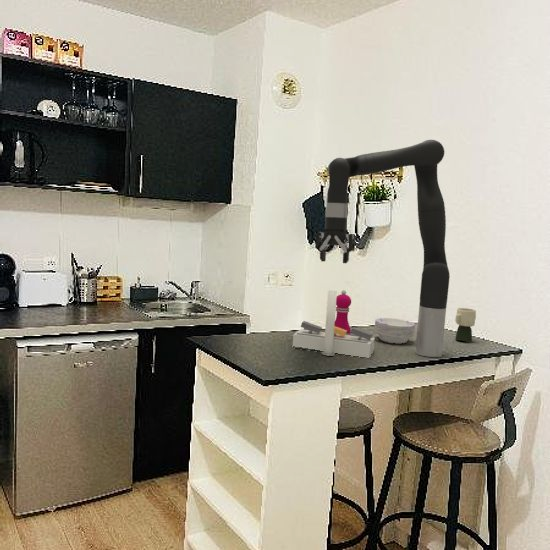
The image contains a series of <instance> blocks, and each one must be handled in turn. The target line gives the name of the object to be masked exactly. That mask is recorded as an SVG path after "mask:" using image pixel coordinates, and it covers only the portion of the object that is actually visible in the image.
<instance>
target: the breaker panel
mask: <svg viewBox="0 0 550 550" xmlns="http://www.w3.org/2000/svg"><path fill="white" fill-rule="evenodd" d="M292 335H293V337H292V347H293V346H295V347H302V348H308V349H315V350H320V351H324V341H325V330H321V332H320V333H316V332H313V331H311V330H308V329H305V328H300V329H299V330H297V331H296V332H294V333H293V334H292ZM375 340H376V338H375V337H371V339H370V340H368V339H365V338H362V337H360V336H357V335H354V334H351V333H350V334H346V335H345V336H344V337H343V336H340V335H338V334H335V333H334V339H333V353H338V354H345V355H351V356H350V357H353V356H359V357H358V358H360V357H367V358H369V357H370V358H371V356H372V355H373V353H374V352H373V351H375ZM338 354H337V355H338ZM371 354H372V355H371ZM345 355H344V356H345ZM367 358H366V359H367ZM370 358H369V359H370Z"/></svg>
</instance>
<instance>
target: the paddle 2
mask: <svg viewBox="0 0 550 550" xmlns="http://www.w3.org/2000/svg"><path fill="white" fill-rule="evenodd" d="M350 330H351V333H350V334H354V335H357V336H360V337H362V338H365V339H368V340H370V339H371V337H372V336H373V333H372V332H369V331H366V330H363V329H360V328H358V327H355V326H353V327H352V328H351V329H350Z"/></svg>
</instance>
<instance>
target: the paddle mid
mask: <svg viewBox="0 0 550 550" xmlns="http://www.w3.org/2000/svg"><path fill="white" fill-rule="evenodd" d="M346 332H347V330H344V329H341V328H339V327H336V326H334V333H335V334H338V335H340V336H343V337H344V336H345V335H346Z"/></svg>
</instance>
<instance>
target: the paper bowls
mask: <svg viewBox="0 0 550 550" xmlns="http://www.w3.org/2000/svg"><path fill="white" fill-rule="evenodd" d="M415 331H416V323H414V322H413V321H409V320H405V319H403V318H395V317H377V318H376V319H375V320H374V333H375V334H377V335H378V337H379V339H380V340H381V341H383V342H384V343H387V342H388V343H389V344H393V343H395V345H402V343H403V344H405V343H407V342H408V341H409V339H410V338H411V339H412V338H413V337H414V335H415ZM388 343H387V344H388Z"/></svg>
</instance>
